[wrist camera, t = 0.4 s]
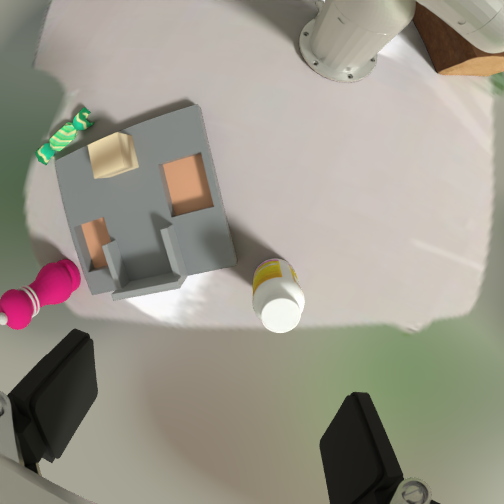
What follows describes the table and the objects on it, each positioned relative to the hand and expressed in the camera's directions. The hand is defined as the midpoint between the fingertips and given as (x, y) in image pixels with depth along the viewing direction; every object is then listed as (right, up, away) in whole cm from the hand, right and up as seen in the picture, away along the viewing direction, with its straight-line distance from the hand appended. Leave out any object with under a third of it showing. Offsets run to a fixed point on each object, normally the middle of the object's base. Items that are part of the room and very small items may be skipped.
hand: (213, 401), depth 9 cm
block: (-18, +19, +29) cm, 40 cm away
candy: (-30, +25, +31) cm, 50 cm away
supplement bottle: (+5, +1, +37) cm, 37 cm away
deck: (-16, +12, +34) cm, 40 cm away
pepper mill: (-33, +1, +37) cm, 50 cm away
